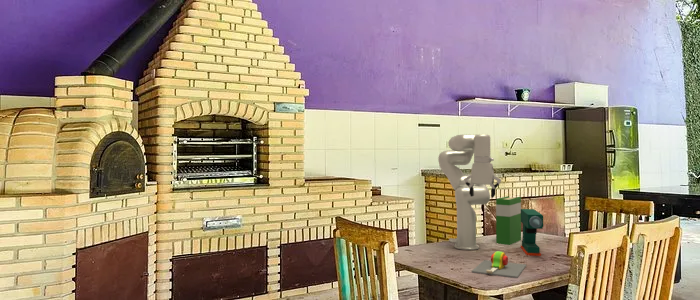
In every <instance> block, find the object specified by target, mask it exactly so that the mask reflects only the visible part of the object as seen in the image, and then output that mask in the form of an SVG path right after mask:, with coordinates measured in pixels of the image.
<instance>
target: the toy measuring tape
mask: <svg viewBox="0 0 700 300" xmlns="http://www.w3.org/2000/svg"><path fill="white" fill-rule="evenodd" d="M490 261H491V262H492V269H491V270H486V272H487V273H490V274H492V272H494V271H495V270H496V269H499V270H500V269H502V268H503V267H504V266H505V265H507V264H508V263H509V257H508V256H507V255H506V253H505V252H503V251H497V250H496V251H495V252H493V254H491V256H490Z"/></svg>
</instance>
